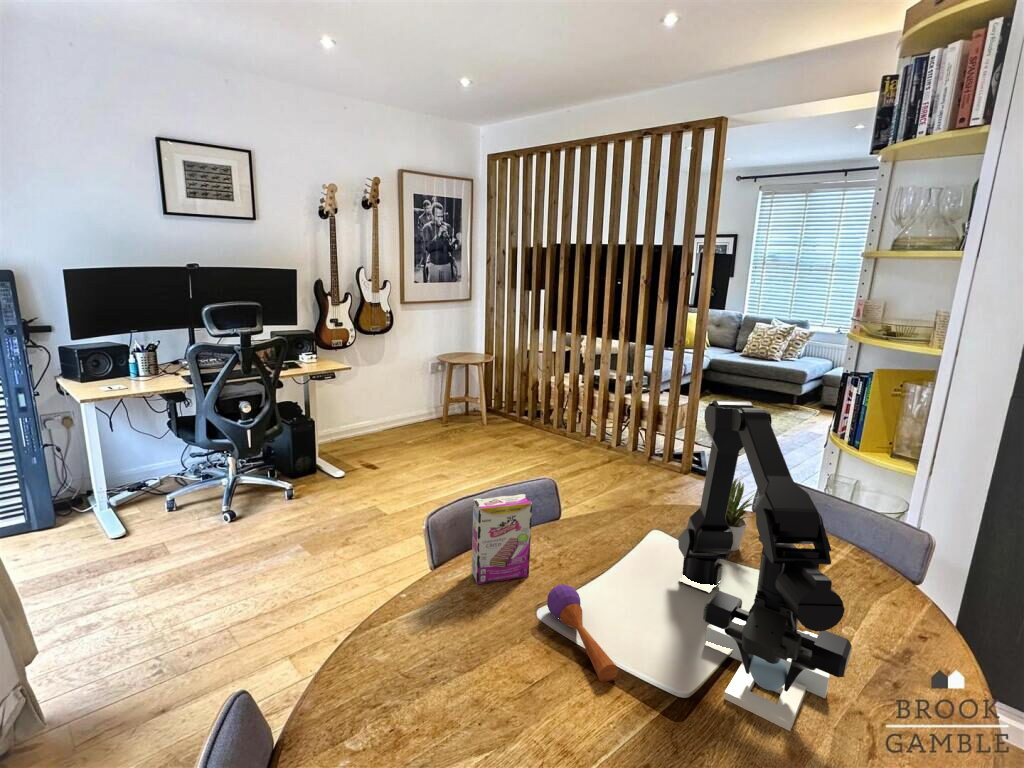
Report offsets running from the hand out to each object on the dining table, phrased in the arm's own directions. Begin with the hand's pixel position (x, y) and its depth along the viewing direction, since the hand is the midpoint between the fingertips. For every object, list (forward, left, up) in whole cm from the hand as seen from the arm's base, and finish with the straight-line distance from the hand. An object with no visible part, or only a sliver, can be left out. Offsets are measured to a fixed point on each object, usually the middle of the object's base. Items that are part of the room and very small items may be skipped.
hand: (766, 680), depth 82 cm
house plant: (-21, +44, -3) cm, 49 cm away
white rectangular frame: (0, 0, -3) cm, 3 cm away
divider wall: (-2, +6, -3) cm, 7 cm away
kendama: (-28, -7, -3) cm, 29 cm away
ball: (0, 0, +2) cm, 2 cm away
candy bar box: (-51, -1, -3) cm, 51 cm away
